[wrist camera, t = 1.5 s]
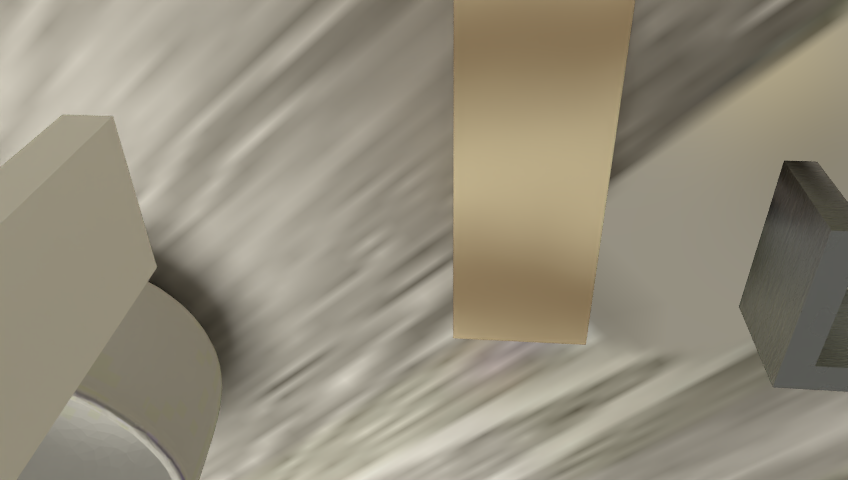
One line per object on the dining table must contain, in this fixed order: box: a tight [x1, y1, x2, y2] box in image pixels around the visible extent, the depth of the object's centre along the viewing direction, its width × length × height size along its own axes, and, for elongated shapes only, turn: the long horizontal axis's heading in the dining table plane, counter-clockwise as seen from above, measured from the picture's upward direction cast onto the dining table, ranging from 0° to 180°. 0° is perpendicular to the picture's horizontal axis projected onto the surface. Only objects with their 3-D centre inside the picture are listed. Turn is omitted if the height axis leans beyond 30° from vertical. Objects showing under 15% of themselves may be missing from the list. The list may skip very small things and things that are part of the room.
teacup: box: [17, 282, 222, 480], centre depth 27 cm, size 14×11×8 cm
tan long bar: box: [453, 0, 635, 345], centre depth 19 cm, size 18×4×5 cm, turn 1°
